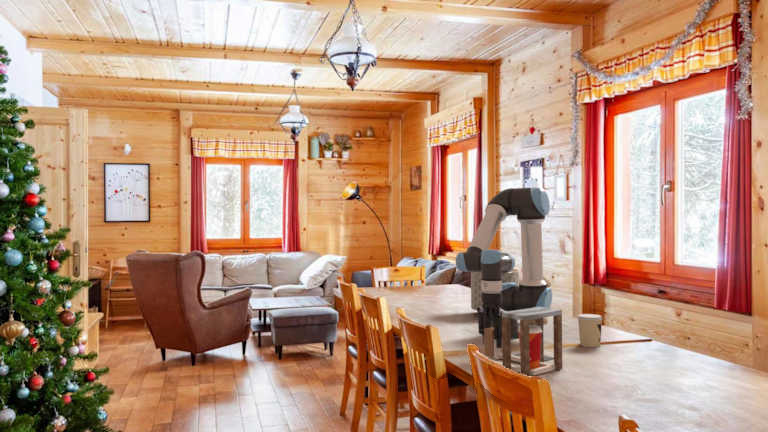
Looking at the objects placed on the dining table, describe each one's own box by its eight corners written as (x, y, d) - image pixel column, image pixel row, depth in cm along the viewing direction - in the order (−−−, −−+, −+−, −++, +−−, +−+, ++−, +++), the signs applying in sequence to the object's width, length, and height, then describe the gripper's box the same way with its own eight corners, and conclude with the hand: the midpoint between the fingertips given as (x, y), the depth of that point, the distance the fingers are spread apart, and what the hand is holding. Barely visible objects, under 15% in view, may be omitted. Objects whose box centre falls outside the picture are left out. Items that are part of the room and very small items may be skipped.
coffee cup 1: (515, 367, 209) (514, 324, 209) (537, 366, 210) (537, 324, 210) (522, 374, 201) (522, 329, 200) (546, 373, 201) (545, 328, 201)
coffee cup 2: (604, 348, 237) (603, 317, 237) (579, 347, 239) (579, 317, 239) (600, 343, 246) (600, 314, 246) (576, 342, 248) (576, 313, 248)
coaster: (504, 357, 223) (504, 356, 223) (527, 352, 231) (527, 351, 231) (531, 364, 213) (531, 363, 213) (554, 358, 221) (554, 358, 221)
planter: (522, 312, 322) (521, 268, 322) (516, 320, 298) (516, 273, 298) (475, 310, 330) (475, 267, 330) (467, 318, 307) (466, 272, 307)
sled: (476, 361, 217) (476, 329, 217) (500, 356, 225) (499, 325, 225) (531, 376, 197) (530, 341, 197) (555, 369, 204) (554, 336, 204)
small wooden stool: (502, 372, 203) (501, 312, 203) (539, 363, 214) (538, 306, 214) (525, 378, 195) (524, 316, 195) (562, 369, 206) (561, 310, 206)
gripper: (467, 290, 224) (468, 352, 224) (502, 295, 210) (502, 361, 210) (482, 288, 228) (482, 349, 229) (516, 293, 215) (517, 358, 215)
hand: (492, 355), depth 219 cm, fingers closed on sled, 4 cm apart
